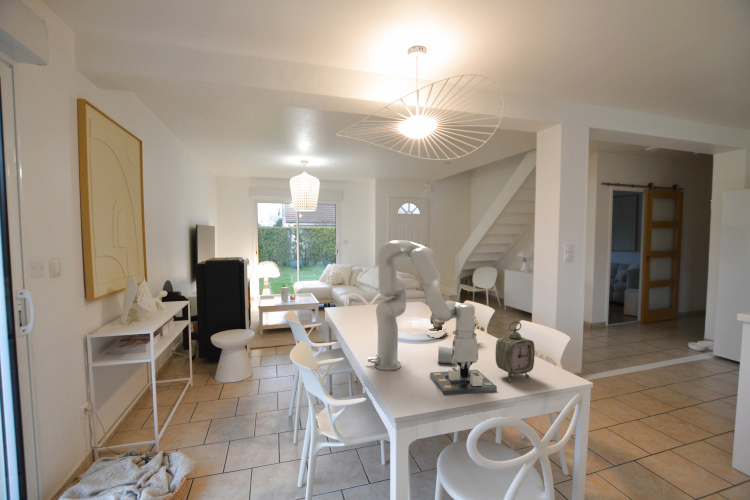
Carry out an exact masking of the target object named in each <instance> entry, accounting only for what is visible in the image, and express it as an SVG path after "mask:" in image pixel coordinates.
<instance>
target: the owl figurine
mask: <svg viewBox="0 0 750 500" xmlns="http://www.w3.org/2000/svg"><path fill="white" fill-rule="evenodd" d="M429 321H430V325H432V328H429V329H428V330H430V331H439V330H442V328H443V326H444V324H446V322H440V321H438V320H437V319H436V318H435V317H434V315H433V314H432V313H431V315H430V319H429ZM433 327H434V328H433ZM443 329H444V328H443ZM428 330H427V331H428ZM446 337H447V333H446V332H445V334H444V335H443V336H442V337H440V338H439V339H438V340H442V339H445V338H446Z"/></svg>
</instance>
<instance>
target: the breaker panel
mask: <svg viewBox="0 0 750 500" xmlns="http://www.w3.org/2000/svg"><path fill="white" fill-rule="evenodd" d="M473 373H480V374H481V375H482V376H483V381H482V386H472V385H471V384H470V374H473ZM429 377H430V379H431V380H432V382H433V383H434V384H435V385H436V387H437V389H438V390H439V391H440V393H442V395H443V396H455V395H469V394H483V393H495V392H496V393H497V389H498V387H497V386H496V384H495V383H493V382H492V381H491V380H490V379H489V378H488V377H486V376H485V375H484V374H483V373H482V372H481V371H480V370H478V369H469V373H468V378H463V377H462V376H461V375H460V380H454V381H451V380H450V379H449V370H448V371H431V372H430V373H429Z"/></svg>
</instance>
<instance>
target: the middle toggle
mask: <svg viewBox="0 0 750 500" xmlns="http://www.w3.org/2000/svg"><path fill="white" fill-rule="evenodd" d="M448 371H449V379H450V380H451V381H454V380H460V370H459V369H458V367H457V368H456V367H451V368H448Z"/></svg>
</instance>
